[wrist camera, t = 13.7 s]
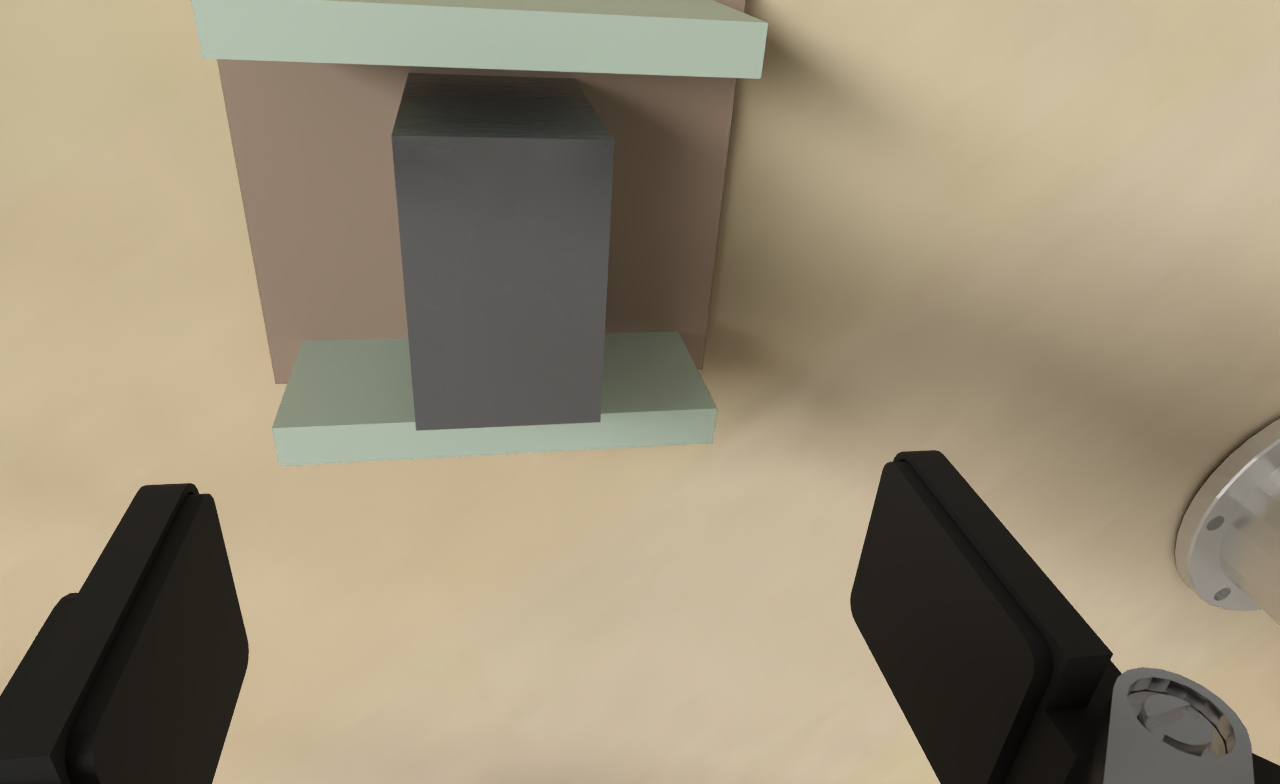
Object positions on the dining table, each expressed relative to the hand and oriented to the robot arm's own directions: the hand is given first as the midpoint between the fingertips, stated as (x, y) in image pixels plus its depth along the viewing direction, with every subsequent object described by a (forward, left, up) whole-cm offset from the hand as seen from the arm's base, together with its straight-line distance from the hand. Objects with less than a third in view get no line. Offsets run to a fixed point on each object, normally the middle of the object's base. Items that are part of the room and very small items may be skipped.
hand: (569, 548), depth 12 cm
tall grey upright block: (0, 0, -15) cm, 15 cm away
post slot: (0, 0, -16) cm, 16 cm away
